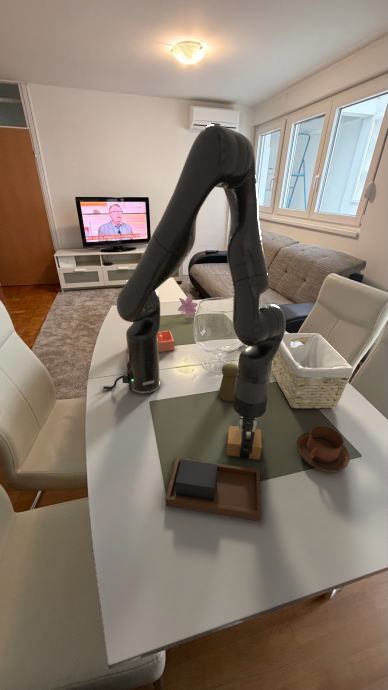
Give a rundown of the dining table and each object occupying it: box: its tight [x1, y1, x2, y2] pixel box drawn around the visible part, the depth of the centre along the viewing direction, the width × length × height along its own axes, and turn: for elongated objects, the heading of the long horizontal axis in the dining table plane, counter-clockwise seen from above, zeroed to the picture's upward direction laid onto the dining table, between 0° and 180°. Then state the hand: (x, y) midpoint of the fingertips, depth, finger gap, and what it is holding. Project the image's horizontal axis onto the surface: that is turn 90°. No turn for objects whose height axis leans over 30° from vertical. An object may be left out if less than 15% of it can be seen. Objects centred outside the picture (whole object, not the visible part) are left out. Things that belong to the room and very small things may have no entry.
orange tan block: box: [226, 425, 263, 461], centre depth 74 cm, size 8×6×4 cm
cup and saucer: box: [296, 425, 350, 472], centre depth 72 cm, size 12×12×6 cm
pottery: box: [158, 330, 175, 353], centre depth 119 cm, size 18×10×10 cm, turn 104°
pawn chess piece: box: [218, 362, 238, 402], centre depth 91 cm, size 6×6×11 cm
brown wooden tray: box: [165, 457, 262, 522], centre depth 64 cm, size 19×11×2 cm, turn 81°
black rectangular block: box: [176, 458, 218, 501], centre depth 64 cm, size 8×6×4 cm
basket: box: [271, 332, 354, 409], centre depth 95 cm, size 24×16×15 cm
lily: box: [177, 293, 199, 320], centre depth 150 cm, size 12×12×10 cm
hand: (244, 444), depth 74 cm, fingers open, 8 cm apart
